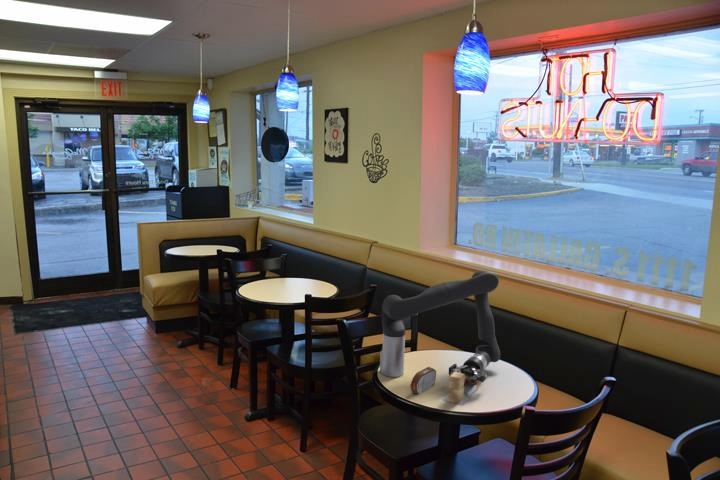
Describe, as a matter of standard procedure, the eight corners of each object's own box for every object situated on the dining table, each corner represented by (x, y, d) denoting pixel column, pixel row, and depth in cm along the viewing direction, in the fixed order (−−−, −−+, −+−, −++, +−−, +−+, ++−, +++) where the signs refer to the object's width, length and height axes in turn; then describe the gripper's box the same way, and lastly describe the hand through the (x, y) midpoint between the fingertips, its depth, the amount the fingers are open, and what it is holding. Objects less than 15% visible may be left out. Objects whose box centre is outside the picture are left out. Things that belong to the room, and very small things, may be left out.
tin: (430, 383, 222) (431, 363, 220) (437, 385, 220) (438, 365, 218) (409, 395, 210) (410, 374, 209) (416, 397, 208) (417, 377, 207)
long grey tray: (442, 401, 206) (442, 396, 205) (463, 380, 225) (463, 376, 225) (462, 406, 202) (463, 401, 201) (482, 385, 221) (482, 380, 221)
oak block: (448, 401, 205) (449, 375, 203) (453, 396, 209) (454, 371, 208) (458, 403, 203) (460, 378, 201) (463, 398, 207) (464, 373, 206)
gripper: (459, 353, 226) (444, 365, 212) (492, 360, 219) (479, 374, 205) (458, 370, 227) (443, 383, 214) (491, 378, 220) (478, 392, 207)
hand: (461, 379), depth 209 cm, fingers open, 8 cm apart
